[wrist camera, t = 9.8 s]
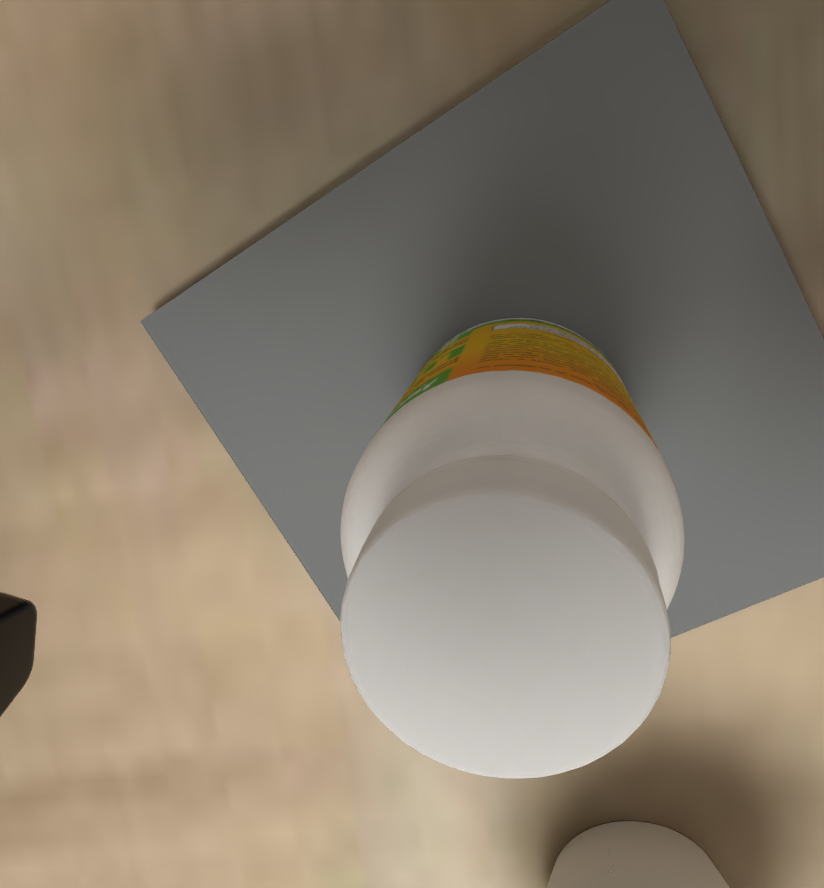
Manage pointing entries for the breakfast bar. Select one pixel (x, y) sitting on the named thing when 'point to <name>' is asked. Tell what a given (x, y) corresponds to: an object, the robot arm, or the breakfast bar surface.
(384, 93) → the breakfast bar surface
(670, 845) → the cup
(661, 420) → the slate mat
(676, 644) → the breakfast bar surface
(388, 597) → the supplement bottle
